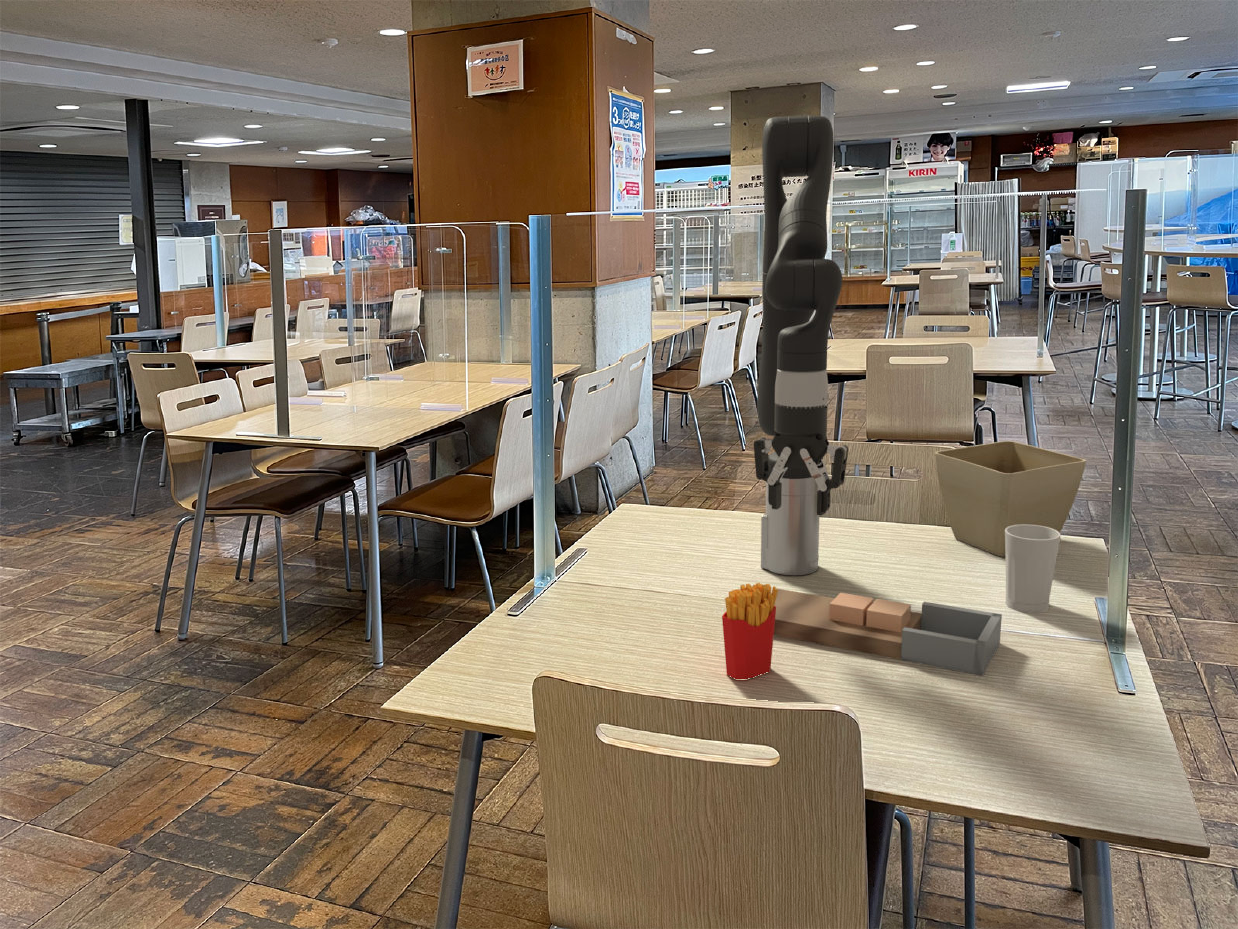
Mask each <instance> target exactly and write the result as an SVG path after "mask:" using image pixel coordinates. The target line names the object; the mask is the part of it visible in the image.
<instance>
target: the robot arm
mask: <svg viewBox="0 0 1238 929" xmlns="http://www.w3.org/2000/svg"><path fill="white" fill-rule="evenodd" d="M761 139H762V140H761V141H762V142H761V147H762V148H761V156H762V158H761V160H762V179H763V180H762V181H763V182H762V184H763V206H764V207H763V208H764V212H763V213H764V223H763V224H764V230H763V231H764V232H763V233H764V234H763V250H762V251H763V254H762V256H763V257H762V282H761V284H762V285H761V286H762V287H761V289H762V291H761V294H762V336H761V338H762V339H761V352H760V364H759V375H758V385H757V396H756V397H757V398H756V412H757V419H758V423H759V427H760V430H762V432H763V433H764V434H765V435H768V436H772V437H773V438H771V439H769V438H768V439H767V438H766V437H761V438H758V439H756V440H755V441H754V442H753V452H754V453H753V454H754V463H755V464H754V466H755V475H756V476H755V477H756V479H757V480H759V481H761V480H762V481H763V482H765V513H764V514H762V515H761V519H760V520H761V522H760V524H761V525H760V528H761V529H760V530H761V531H760V540H761V541H760V568H761V569H766V570H767V571H769V572H772V573H774V574H779V575H785V576H803V575H809V574H813V573H814V572H817V570H818V568H819V560H820V558H819V549H820V548H819V546H820V516H823V515H825V514H826V513H827V511H829V510H830V509H831V508H830V507H831V490H833V489H838V488H839V487H840V486H842V485H843V484H845V479H846V470H847V464H848V462H847V461H848V454H849V447H848V446H847V445H845V444H843V445H835V444H830V442H829V441H828V437H827V434H828V433H827V432H828V405H829V404H828V401H829V395H830V394H829V380H828V372H827V369H828V343H829V342H828V340H829V334H830V329H831V325H832V324H831V323H832V319H833V316H834V312H835V310H836V307H837V304H838V301H839V297H840V295H841V291H842V287H843V273H842V270H841V269H840V266H839V265H838V264H837V262H835V260H833V259H829V258H825V257H826V255H827V253H828V252H827V251H828V224H827V223H828V222H827V221H828V220H827V217H828V216H827V213H828V211H827V210H828V203H829V202H828V201H829V195H830V190H831V182H832V175H833V174H832V173H833V163H834V146H835V145H834V140H835V139H834V130H833V126H832V122H831V120H830V119H829V118H828V117H826V116H823V115H798V116H797V115H793V116H775V117H773V116H772V117H770V118H768V119H767V120H766V122H765V124H764V127H763V132H762V138H761ZM797 177H799V178H802V177H806V179H805V180H804V181H803V182H802V184H801V185H800V186H799V187H798V188H796V190H795V191H794V192H792V194H791V195H790V196H789V197H788V199H787V195H786V192H785V190H784V186H783V179H784V178H797ZM813 314H814V315H813ZM772 449H773V452H771V450H772ZM827 453H828V454H829V455H830V460H831V461H832V462H833V465H832V470H831V471H832V473H831V477H830V476H829V474H828V469H827V468H828V467H827V466H826V464H825V462H824V460H823V459H824V457H825V456H826V454H827Z"/></svg>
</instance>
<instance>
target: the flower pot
mask: <svg viewBox="0 0 1238 929" xmlns="http://www.w3.org/2000/svg"><path fill="white" fill-rule="evenodd" d="M934 462H935V468H936V475H937V481H938V485H939V490H940V494H941V498H942V503H943V507H944V509H945V513H946V517H947V519H948V522H949V525H950V529H951V531H952V534H953V536H954V538H955V539H956V540H959V541H960V542H963V543H965V544H969V545H970V546H973V547H976V548H978V549H980V550H982V551H984V552H987V553H989V554H993V555H995V556H997V557H1006V551H1005V529H1006V528H1007V527H1009V526H1013V525H1038V526H1044V527H1048V528H1052V529H1054V530H1057V531H1058V532H1059V533H1060V534H1061V532H1062V529H1063V527H1064V525H1065V524H1066V521H1067V518H1068V517H1069V515H1070V513H1071V510H1072V507H1073V504H1074V502H1075V500H1076V496H1077V494H1078V492H1079V488H1080V484H1081V483H1082V478H1083V476H1084V472H1085V468H1086V463H1087V460H1086V459H1085V458H1080V457H1077V456H1073V455H1069V454H1065V453H1061V452H1057V451H1054V450H1052V449H1051V450H1050V449H1045V448H1042V447H1037V446H1035V445H1030V444H1026V443H1023V442H1019V441H1015V440H1003V441H1002V440H1001V441H996V442H990V443H984V444H977V445H969V446H963V447H956V448H951V449H944V450H943V449H942V450H936V451H934Z"/></svg>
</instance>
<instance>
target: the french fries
mask: <svg viewBox="0 0 1238 929" xmlns="http://www.w3.org/2000/svg"><path fill="white" fill-rule="evenodd" d="M778 589H779V588H777V587H776V586H775V585H774V586H771V584H770V583H765V584H762V583H760V582H757V583H755V584H753V585H751V584H750V583H745V584H740V588H738V589H732V590H731V591H728V596H727V597H725V598H724V602H725V610H726V611H725V612H724V613H723V614H722V615H721V620H722V631H723V633H722V634H723V645H724V646H723V647H724V654H725V671H726V676H727V675H729V676H731V677H732V678H731V677H730V678H731V679H733V678H735V679H748V678H753V677H755V676H758V675H760V674H764V673H766V672H769V673H770V671H771V666H772V657H773V646H774V636H775V635H774V626H775V615H776V606H774V605H775V601H776V597H777V592H778ZM764 675H765V674H764ZM729 676H728V677H729ZM753 679H754V678H753Z"/></svg>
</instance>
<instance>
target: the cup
mask: <svg viewBox="0 0 1238 929" xmlns="http://www.w3.org/2000/svg"><path fill="white" fill-rule="evenodd" d="M1060 541H1061V532H1060V533H1059V532H1058V531H1057V530H1054V529H1052V528H1048V527H1044V526H1038V525H1013V526H1009V527H1007V528H1006V529H1005V551H1006V556H1005V605H1006V607H1007V608H1010V609H1012V610H1015V611H1017V612H1021V613H1023V612H1024V613H1031V614H1035V613H1037V614H1038V613H1039V614H1040V613H1044V612H1046V611H1048V610H1049V606H1050V597H1051V592H1052V586H1053V580H1054V575H1055V569H1056V562H1057V557H1058V552H1059V546H1060Z"/></svg>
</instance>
